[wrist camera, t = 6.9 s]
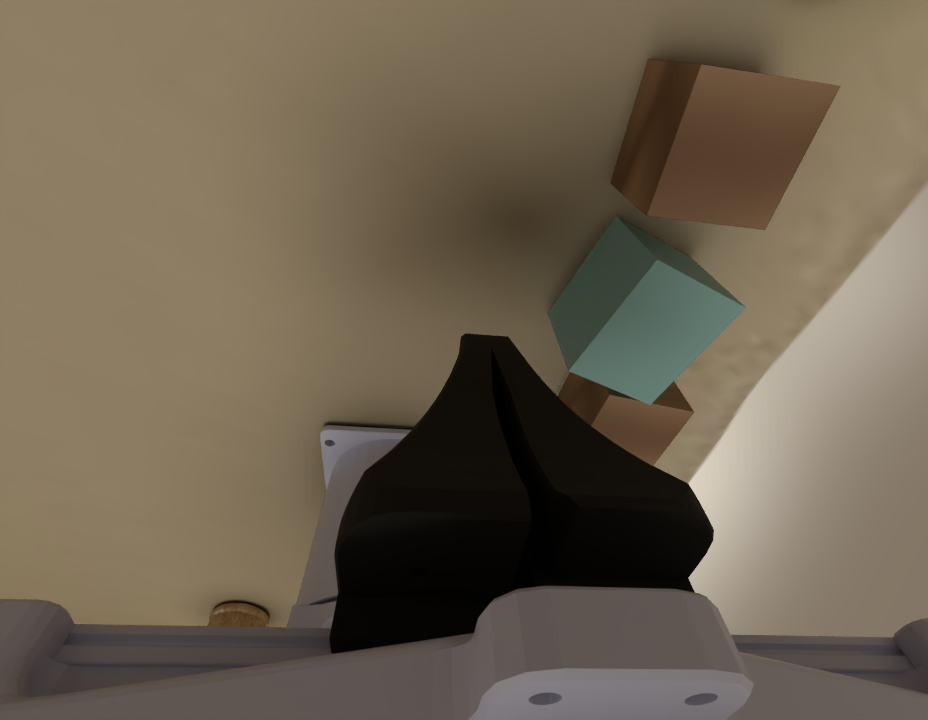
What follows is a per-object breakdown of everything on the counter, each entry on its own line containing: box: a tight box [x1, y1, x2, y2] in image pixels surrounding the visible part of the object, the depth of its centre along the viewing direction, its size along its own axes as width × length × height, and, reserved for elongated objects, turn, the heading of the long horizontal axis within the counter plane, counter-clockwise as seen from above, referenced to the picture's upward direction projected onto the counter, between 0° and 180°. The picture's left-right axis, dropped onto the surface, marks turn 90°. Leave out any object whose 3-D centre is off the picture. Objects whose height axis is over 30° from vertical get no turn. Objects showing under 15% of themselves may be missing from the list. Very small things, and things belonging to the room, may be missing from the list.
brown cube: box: [611, 59, 840, 230], centre depth 15 cm, size 4×4×4 cm
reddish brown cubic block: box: [558, 372, 694, 466], centre depth 21 cm, size 4×4×4 cm
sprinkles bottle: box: [208, 603, 269, 627], centre depth 31 cm, size 5×5×13 cm
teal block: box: [548, 216, 746, 405], centre depth 18 cm, size 5×4×4 cm
